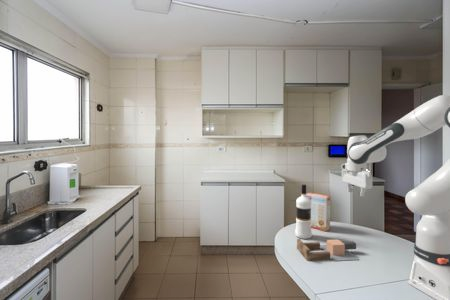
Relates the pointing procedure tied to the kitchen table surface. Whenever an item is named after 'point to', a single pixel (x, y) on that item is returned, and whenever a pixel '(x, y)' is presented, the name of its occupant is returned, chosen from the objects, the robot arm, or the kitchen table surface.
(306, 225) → the vodka
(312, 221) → the cracker box
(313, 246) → the brown wooden tray
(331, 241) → the terracotta block
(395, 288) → the kitchen table surface
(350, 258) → the grey pad
